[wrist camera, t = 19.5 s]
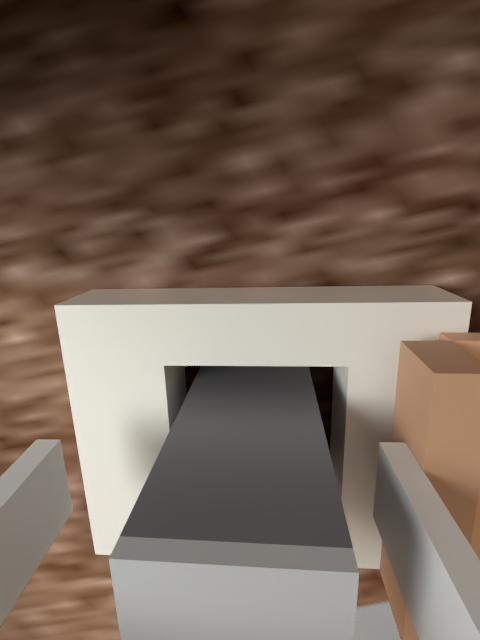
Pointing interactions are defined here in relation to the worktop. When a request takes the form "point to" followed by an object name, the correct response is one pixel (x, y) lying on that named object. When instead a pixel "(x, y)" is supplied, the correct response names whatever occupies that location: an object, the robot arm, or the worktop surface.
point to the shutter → (439, 436)
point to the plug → (239, 520)
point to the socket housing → (237, 350)
